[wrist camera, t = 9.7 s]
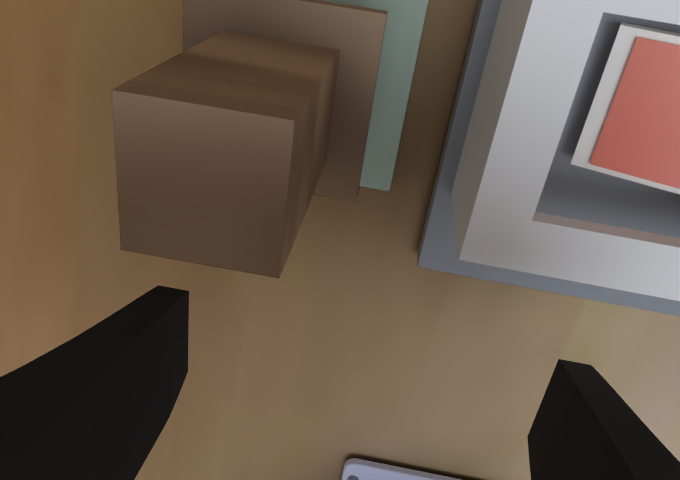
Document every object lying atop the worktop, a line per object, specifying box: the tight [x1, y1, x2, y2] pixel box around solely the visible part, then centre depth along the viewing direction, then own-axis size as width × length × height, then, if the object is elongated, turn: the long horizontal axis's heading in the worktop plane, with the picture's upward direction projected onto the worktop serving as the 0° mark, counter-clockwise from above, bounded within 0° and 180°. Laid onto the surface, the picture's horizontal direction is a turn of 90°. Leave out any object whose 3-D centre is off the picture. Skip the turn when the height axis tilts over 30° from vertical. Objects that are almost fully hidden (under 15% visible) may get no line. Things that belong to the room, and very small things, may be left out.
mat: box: [321, 0, 428, 191], centre depth 19 cm, size 7×7×1 cm
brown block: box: [112, 0, 388, 278], centre depth 14 cm, size 5×5×10 cm
